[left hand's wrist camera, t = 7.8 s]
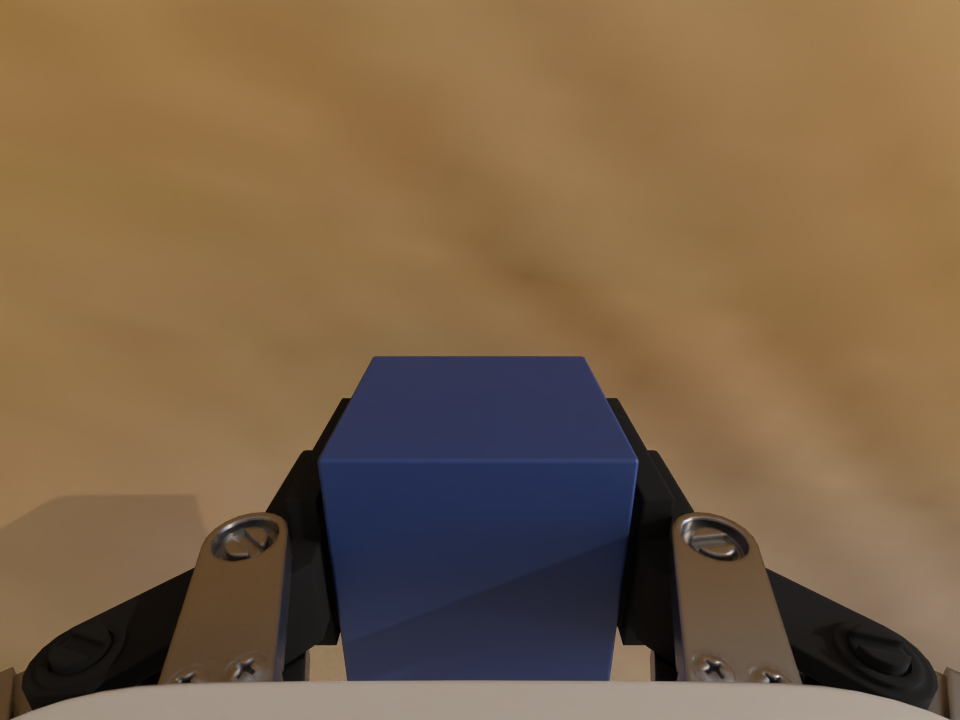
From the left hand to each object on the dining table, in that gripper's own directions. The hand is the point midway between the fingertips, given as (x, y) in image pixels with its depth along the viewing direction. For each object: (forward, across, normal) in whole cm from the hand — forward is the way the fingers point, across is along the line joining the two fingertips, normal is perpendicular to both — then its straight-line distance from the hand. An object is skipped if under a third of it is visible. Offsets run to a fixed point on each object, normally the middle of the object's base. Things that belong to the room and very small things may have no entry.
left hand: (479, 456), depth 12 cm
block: (0, 0, 0) cm, 0 cm away
